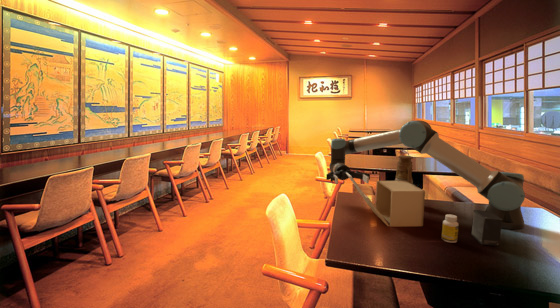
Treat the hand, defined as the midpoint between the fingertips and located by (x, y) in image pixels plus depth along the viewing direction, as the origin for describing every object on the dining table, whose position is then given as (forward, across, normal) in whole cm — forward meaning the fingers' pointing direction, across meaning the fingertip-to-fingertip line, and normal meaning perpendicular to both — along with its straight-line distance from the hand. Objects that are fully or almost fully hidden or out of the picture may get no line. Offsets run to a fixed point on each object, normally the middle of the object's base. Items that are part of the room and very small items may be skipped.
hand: (352, 180), depth 140 cm
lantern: (-30, -36, -19) cm, 51 cm away
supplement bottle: (+21, -33, -19) cm, 43 cm away
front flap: (-3, -14, -18) cm, 24 cm away
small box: (+21, -47, -19) cm, 55 cm away
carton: (-3, -22, -19) cm, 29 cm away
